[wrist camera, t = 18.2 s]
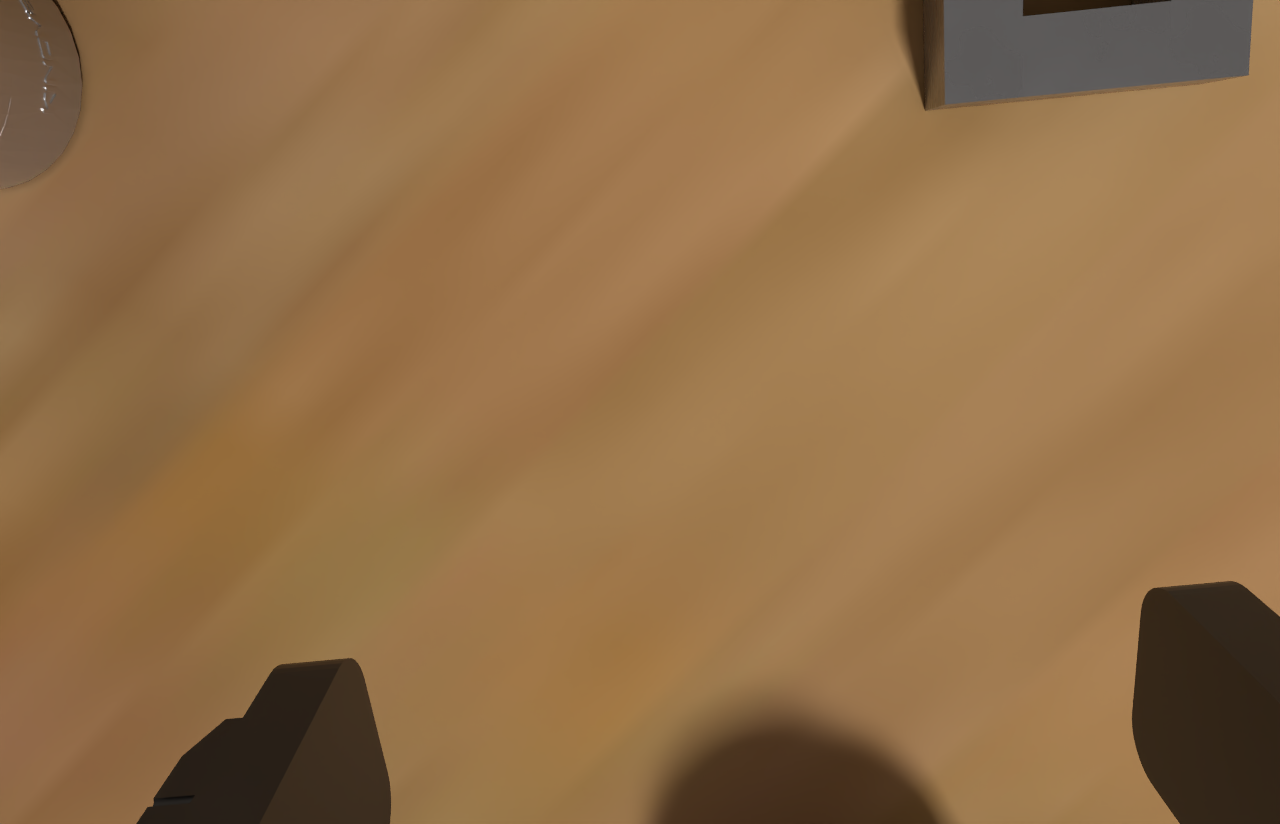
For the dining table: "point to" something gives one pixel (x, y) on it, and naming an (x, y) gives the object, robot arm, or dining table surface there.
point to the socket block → (1078, 49)
